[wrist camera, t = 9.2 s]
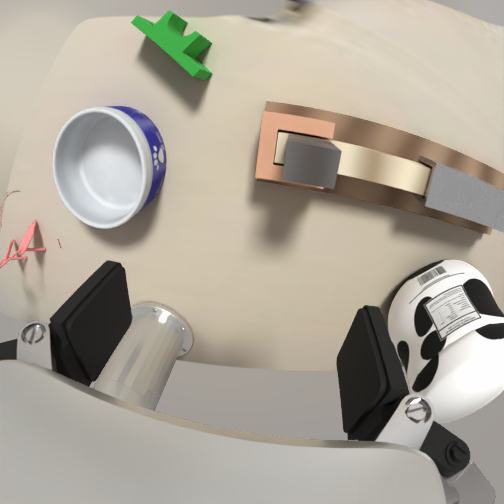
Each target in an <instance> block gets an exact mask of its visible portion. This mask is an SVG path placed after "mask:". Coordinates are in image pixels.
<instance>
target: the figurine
mask: <svg viewBox="0 0 504 504" xmlns="http://www.w3.org/2000/svg"><path fill="white" fill-rule="evenodd" d="M13 192H14V191H13ZM6 194H7V193H6ZM7 196H8V195H7ZM7 196H6V197H7ZM35 224H36V220H35V221H34V222H33V223H32V224H31V226H30V227H29V228H28V230H27V231H26V233H25V235H24V237H23V239H22V241H21V244H20V247H19V250H18V251H17V252H16V253H14V254H13V255H12V256H11V257H9V255H10V252H11V248H12V245H13V241H14V240H12V241H11V242H10V245H9V247H8V250H7V254H6V256H5V257H4V259H3V260H2V261H1V262H0V264H1V263H2V262H3V261H4V260H5V262H4V263H3V264H1V265H0V268H1V267H2V266H3V265H4V264H6V263H7V262H8V261H9V260H17V259H27V257H14V256H15V255H16V254H17V253H18V252H19V255H22V254H24V252H25V251H45V250H46V249H45V248H28V246H29V244H30V242H31V240H32V237H33V234H34V232H35V227H36V225H35ZM1 227H2V226H1ZM58 241H59V239H58ZM59 245H60V243H59ZM60 248H61V246H60Z"/></svg>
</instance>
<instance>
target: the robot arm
mask: <svg viewBox="0 0 504 504" xmlns="http://www.w3.org/2000/svg"><path fill="white" fill-rule="evenodd" d="M50 321H51V323H50V324H49V325H47V323H45V322H43V321H40V320H36V321H31V322H28V323H27V324H25V325H24V326H23V327H22V328H21V330H20V331H19V333H18V339H15V340H11V341H7V342H3V343H0V504H494V502H495V498H496V495H495V490H494V488H493V487H492V486H491V484H490V483H489V481H488V480H487V479H486V478H485V476H484V475H483V474H482V472H481V471H480V470H479V468H478V467H477V466H476V464H475V463H474V462H473V463H471V464H470V462H469V460H470V451H469V448H468V446H467V444H466V443H465V442H463V441H462V440H461V439H459V438H458V437H457V436H455V435H454V434H452V433H451V432H450V431H448V430H447V429H445V428H444V427H442V426H441V425H440V424H438V423H437V422H436V421H434V417H435V409H434V407H433V404H432V403H431V402H430V400H429V399H427V398H426V397H425V396H422V395H420V394H410V393H409V390H408V386H407V383H406V380H405V377H404V373H403V370H402V367H401V364H400V361H399V358H398V355H397V352H396V349H395V346H394V344H393V342H392V341H391V338H390V335H389V332H388V330H387V327H386V324H385V321H384V319H383V316H382V313H381V311H380V308H379V307H376V306H368V305H365V306H364V307H363V308H360V309H359V310H358V311H357V314H356V316H355V318H354V321H353V323H352V325H351V328H350V330H349V332H348V334H347V337H346V339H345V341H344V343H343V345H342V347H341V349H340V352H339V354H338V356H337V371H338V378H339V388H340V398H341V408H342V419H343V429H344V432H345V433H348V440H358V441H339V440H337V441H336V440H314V439H299V438H286V437H277V436H268V435H261V434H254V433H246V432H241V431H235V430H230V429H224V428H219V427H214V426H209V425H205V424H200V423H196V422H192V421H187V420H184V419H180V418H176V417H173V416H169V415H166V414H162V413H159V412H155V408H156V406H157V403H158V401H159V399H160V396H161V394H162V392H163V389H164V387H165V385H166V382H167V380H168V377H169V375H170V373H171V370H172V368H173V366H174V363H175V361H176V359H177V357H178V356H182V355H184V354H186V353H188V351H189V350H190V349H191V347H192V344H193V334H192V331H191V329H190V327H189V325H188V324H187V323H186V321H185V320H184V319H183V318H182V317H181V316H180V315H178V314H177V313H176V312H174V311H173V310H171V309H169V308H167V307H165V306H163V305H160V304H156V303H150V302H144V303H139V304H137V305H135V306H134V307H133V308H132V309H131V307H130V301H129V295H128V288H127V281H126V273H125V269H124V267H122V265H121V263H118V262H114V261H109V260H108V261H106V262H105V263H104V264H103V265H102V266H101V267H100V268H99V269H98V270H97V271H96V272H94V273H93V274H92V275H91V276H90V277H89V278H88V279H87V280H86V281H85V282H84V283H83V284H82V285H81V286H80V287H79V288H78V289H77V290H76V292H75V293H74V294H73V295H72V296H71V297H70V298H69V299H68V300H67V301H66V302H65V303H64V304H63V305H62V306H61V307H60V308H59V309H58V310H57V312H56V313H55V314H54V315H53V316H52V317H51V318H50ZM128 329H129V330H128ZM127 330H128V331H127ZM126 332H127V333H126ZM125 333H126V334H125ZM124 335H125V336H124ZM123 336H124V337H123ZM122 338H123V339H122ZM121 339H122V341H121ZM120 341H121V342H120ZM119 343H120V344H119ZM118 344H119V345H118ZM117 346H118V347H117ZM116 347H117V349H116ZM115 349H116V350H115ZM114 350H115V352H114ZM113 352H114V353H113ZM112 353H113V355H112ZM111 355H112V357H111V358H110V356H111ZM109 358H110V360H109ZM108 360H109V361H108ZM107 362H108V363H107ZM106 363H107V365H106ZM105 365H106V366H105ZM104 367H105V368H104ZM103 368H104V370H103ZM102 370H103V371H102ZM101 371H102V373H101ZM100 373H101V375H100ZM99 375H100V376H99ZM98 377H99V378H98ZM97 378H98V380H97ZM96 380H97V381H96ZM92 381H96V383H95V385H94V387H93V388H90V387H89V386H90V384H91V382H92ZM78 382H79V383H78ZM85 385H86V386H85Z"/></svg>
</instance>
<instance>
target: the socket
mask: <svg viewBox="0 0 504 504" xmlns="http://www.w3.org/2000/svg"><path fill="white" fill-rule="evenodd" d="M334 128H335V123H333V122H329V121H324V120H319V119H314V118H308V117H303V116H297V115H291V114H284V113H277V112H269V111H263V117H262V125H261V133H260V141H259V149H258V157H257V165H256V174H255V178H261V179H268V180H274V181H280V182H287V183H292V184H298V185H304V186H309V187H315V188H320V189H323V188H324V187H319V186H314V185H308V184H303V183H297V182H291V181H285V180H282V176H283V169H284V164H281V163H275V162H274V161H275V154H276V146H277V139H278V132H279V129H281V130H287V131H293V132H299V133H305V134H311V135H316V136H321V137H326V138H331V139H333V134H334Z"/></svg>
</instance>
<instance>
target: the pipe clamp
mask: <svg viewBox="0 0 504 504" xmlns="http://www.w3.org/2000/svg"><path fill="white" fill-rule="evenodd" d="M131 23H132V24H133V25H134V26H136V27H137V28H138V29H139V30H140V31H142V32H143V33H144V34H145V35H146V36H148V37H149V38H150V39H151V40H152V41H154V42H155V43H156V44H157V45H158V46H159V47H161V48H162V49H163V50H164V51H165V52H166V53H167V54H169V55H170V56H171V57H172V58H173V59H174V60H175V61H176V62H177V63H179V64H180V65H181V66H182V67H183V68H184V69H185V70H186V71H187V72H188V73H189V74H190V75H192V76H193V77H196V78H199V79H203V80H206V79H207V78H209V77H210V76H211V75H212V73H211V72H210V71H209V70H208V69H207V68H206V67H205V66H204V65H203V64H201V63H200V62H199V61H198V60H197V59H196V58H197V57H198V56H199V55H200V54H201V53H202V52H203V51H204V50H205V49H206V48H207V47H209V46H210V45H211V44H212V43H211V42H210V41H209V40H207V39H206V38H205V37H203V36H202V35H201V34H199V33H198V32H196V31H195V32H194V33H192V34H190V35H188V36H184V37H183V29H184V27H185V26H186V24H187V22H186V21H184V20H183V19H181V18H180V17H179V16H177V15H175V14H174V13H173V12H171V11H168V12H167V13H166V14H165V15H164V16H163V17H162V18H161V19H160V20H159V21H158V22H157V23H156V24H155V23H153V22H150V21H148V20H146V19H144V18H142V17H140V16H136V17H135V19H134V20H133V21H132V22H131Z"/></svg>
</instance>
